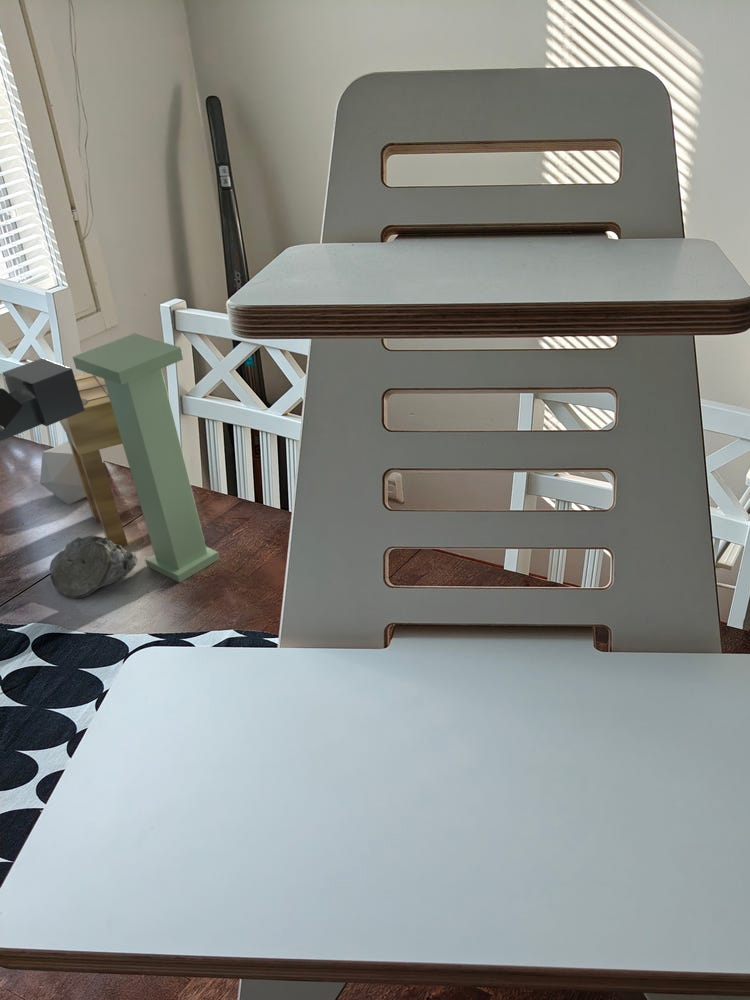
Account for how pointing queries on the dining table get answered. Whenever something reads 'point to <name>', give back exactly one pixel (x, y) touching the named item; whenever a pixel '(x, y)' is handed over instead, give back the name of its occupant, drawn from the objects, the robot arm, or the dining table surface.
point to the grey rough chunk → (89, 565)
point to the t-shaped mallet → (41, 395)
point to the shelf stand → (152, 449)
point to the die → (62, 474)
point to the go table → (95, 451)
